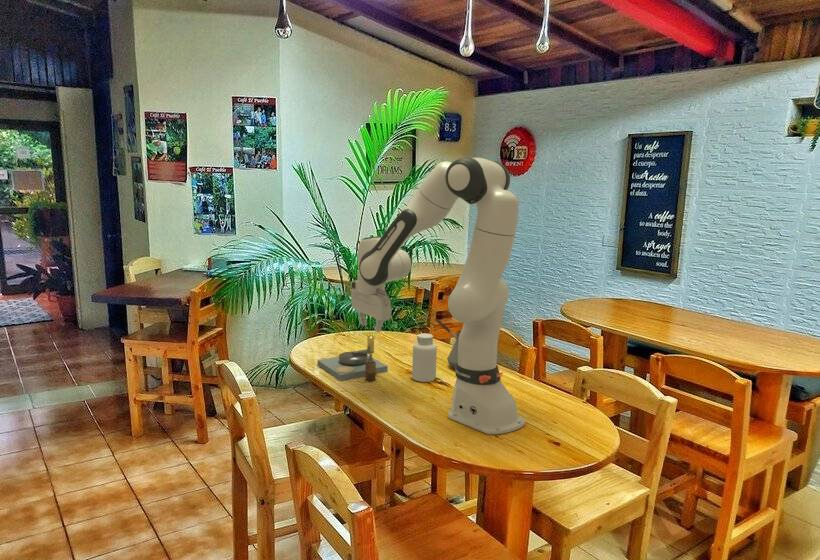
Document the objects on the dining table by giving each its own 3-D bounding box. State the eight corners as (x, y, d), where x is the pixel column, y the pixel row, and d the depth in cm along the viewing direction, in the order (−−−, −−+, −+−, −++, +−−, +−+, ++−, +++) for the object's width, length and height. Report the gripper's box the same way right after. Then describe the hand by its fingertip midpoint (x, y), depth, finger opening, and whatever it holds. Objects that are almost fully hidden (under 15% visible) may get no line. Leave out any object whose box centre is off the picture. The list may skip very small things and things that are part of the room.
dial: (380, 361, 200) (380, 339, 199) (347, 367, 193) (347, 344, 191) (366, 353, 208) (366, 332, 207) (334, 359, 201) (333, 337, 200)
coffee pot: (486, 368, 201) (488, 327, 199) (463, 375, 194) (464, 332, 191) (444, 353, 217) (446, 315, 215) (422, 359, 210) (423, 320, 208)
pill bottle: (426, 384, 185) (427, 340, 182) (407, 378, 190) (408, 335, 187) (440, 378, 191) (441, 334, 188) (421, 372, 196) (422, 330, 193)
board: (387, 371, 196) (387, 364, 196) (340, 381, 186) (340, 374, 186) (362, 357, 211) (362, 351, 211) (317, 365, 201) (317, 358, 201)
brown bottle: (377, 380, 188) (377, 354, 186) (368, 382, 186) (368, 356, 184) (372, 377, 190) (372, 352, 189) (363, 379, 188) (363, 353, 187)
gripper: (396, 291, 176) (395, 334, 178) (364, 280, 192) (363, 319, 195) (379, 293, 172) (378, 337, 175) (347, 281, 189) (347, 322, 191)
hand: (370, 328), depth 185 cm, fingers open, 8 cm apart
